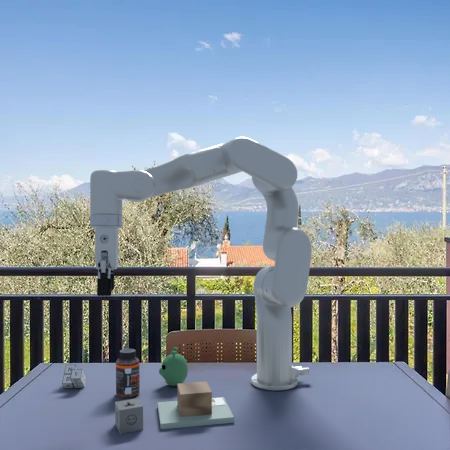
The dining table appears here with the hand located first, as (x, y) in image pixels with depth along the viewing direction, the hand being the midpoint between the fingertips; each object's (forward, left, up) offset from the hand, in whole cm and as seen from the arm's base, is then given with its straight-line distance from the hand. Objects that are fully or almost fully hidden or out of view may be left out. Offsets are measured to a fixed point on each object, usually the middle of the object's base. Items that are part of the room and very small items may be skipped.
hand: (106, 292), depth 115 cm
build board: (-20, +11, -27) cm, 35 cm away
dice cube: (-5, +14, -27) cm, 31 cm away
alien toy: (-17, -9, -27) cm, 33 cm away
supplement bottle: (-5, -5, -27) cm, 28 cm away
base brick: (-20, +11, -26) cm, 34 cm away
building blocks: (+9, -14, -27) cm, 32 cm away
